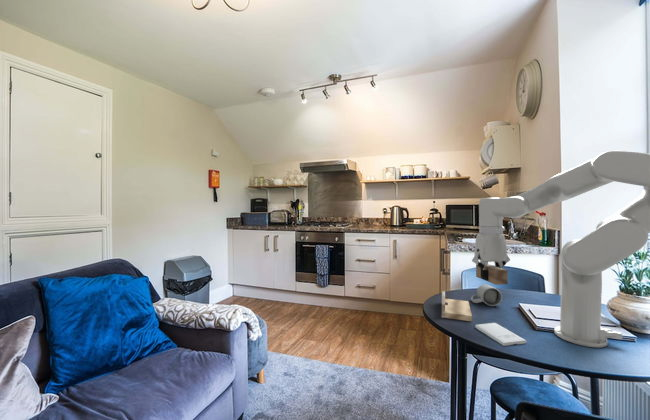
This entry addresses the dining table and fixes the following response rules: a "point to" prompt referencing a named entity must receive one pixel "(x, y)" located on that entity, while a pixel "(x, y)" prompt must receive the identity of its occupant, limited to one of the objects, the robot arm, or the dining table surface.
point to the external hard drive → (500, 334)
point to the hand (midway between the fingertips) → (491, 278)
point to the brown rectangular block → (494, 274)
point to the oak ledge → (455, 309)
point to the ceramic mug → (487, 295)
